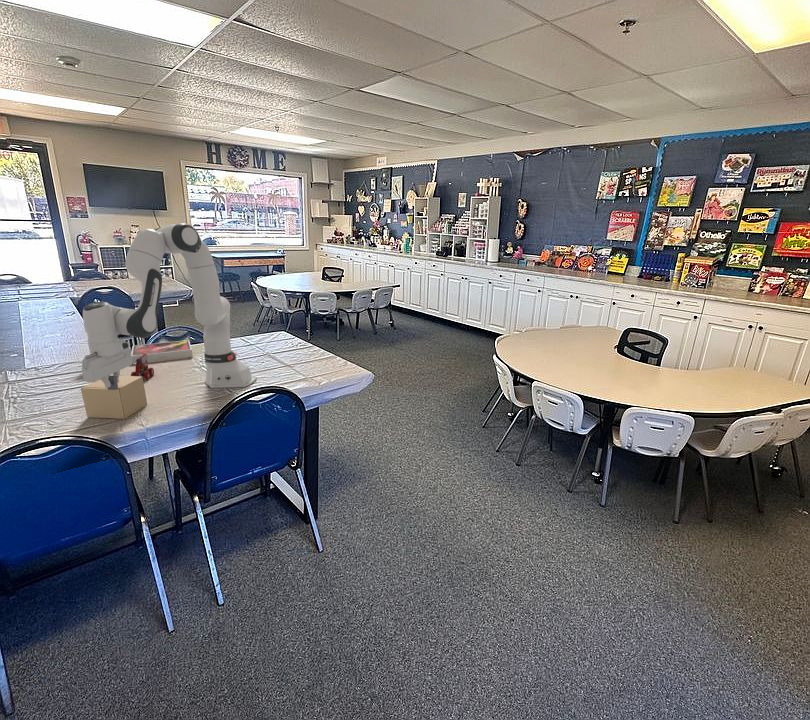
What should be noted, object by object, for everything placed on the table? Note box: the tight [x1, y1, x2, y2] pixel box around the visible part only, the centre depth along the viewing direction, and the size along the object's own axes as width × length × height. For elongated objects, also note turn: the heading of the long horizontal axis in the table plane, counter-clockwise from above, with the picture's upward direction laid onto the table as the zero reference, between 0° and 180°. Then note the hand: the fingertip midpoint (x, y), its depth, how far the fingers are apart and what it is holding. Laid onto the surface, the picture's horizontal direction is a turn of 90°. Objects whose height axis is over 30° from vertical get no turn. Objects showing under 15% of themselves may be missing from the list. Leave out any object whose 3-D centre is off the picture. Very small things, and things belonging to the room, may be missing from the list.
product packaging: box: [131, 339, 194, 365], centre depth 232 cm, size 22×28×5 cm
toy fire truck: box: [130, 354, 155, 381], centre depth 198 cm, size 7×12×10 cm, turn 11°
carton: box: [82, 374, 148, 419], centre depth 163 cm, size 14×13×12 cm
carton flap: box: [80, 376, 125, 420], centre depth 155 cm, size 14×1×17 cm, turn 87°
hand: (112, 385), depth 154 cm, fingers open, 2 cm apart
